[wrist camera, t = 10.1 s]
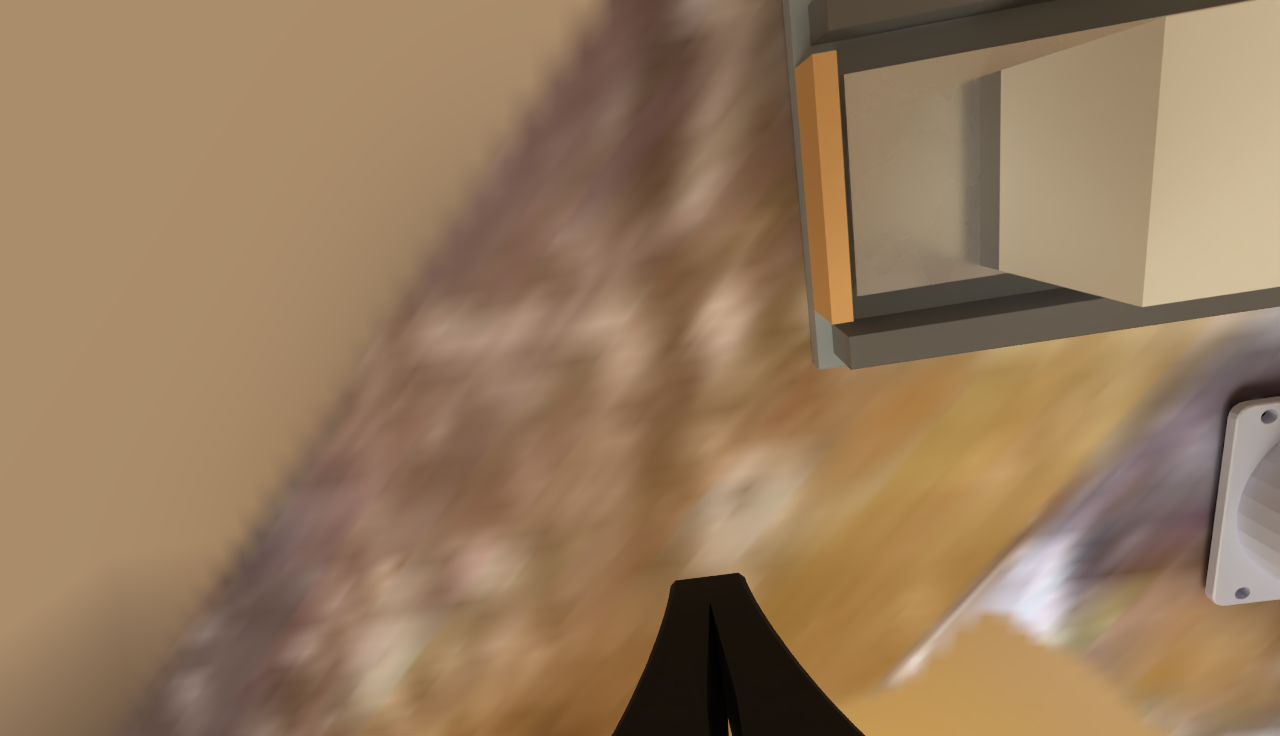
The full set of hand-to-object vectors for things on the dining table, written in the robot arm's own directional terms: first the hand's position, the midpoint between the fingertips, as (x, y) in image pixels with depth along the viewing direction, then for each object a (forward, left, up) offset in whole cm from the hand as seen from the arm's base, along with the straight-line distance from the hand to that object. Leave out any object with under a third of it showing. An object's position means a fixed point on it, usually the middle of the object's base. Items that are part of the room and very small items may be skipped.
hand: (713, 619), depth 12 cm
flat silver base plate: (-11, -7, -9) cm, 16 cm away
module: (-11, -7, -8) cm, 15 cm away
